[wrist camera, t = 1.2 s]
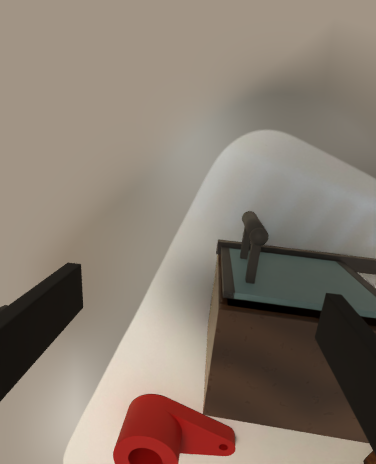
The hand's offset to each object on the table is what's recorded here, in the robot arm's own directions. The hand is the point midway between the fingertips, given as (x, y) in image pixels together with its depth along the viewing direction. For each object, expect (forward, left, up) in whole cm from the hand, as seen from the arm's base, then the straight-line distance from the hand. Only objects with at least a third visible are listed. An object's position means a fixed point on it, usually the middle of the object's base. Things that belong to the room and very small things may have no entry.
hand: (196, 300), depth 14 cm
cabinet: (-10, +14, -20) cm, 26 cm away
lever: (+13, +33, -21) cm, 41 cm away
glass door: (-9, +4, -19) cm, 21 cm away
